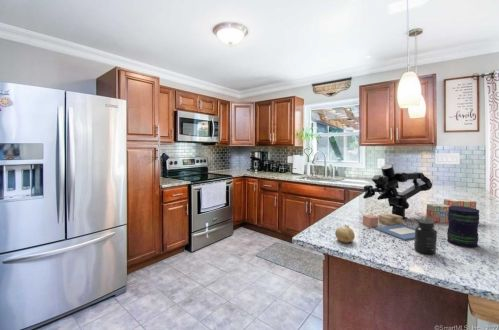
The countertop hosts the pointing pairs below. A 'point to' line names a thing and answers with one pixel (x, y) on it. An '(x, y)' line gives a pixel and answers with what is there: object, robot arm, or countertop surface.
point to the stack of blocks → (445, 209)
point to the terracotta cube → (370, 220)
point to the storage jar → (463, 226)
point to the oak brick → (390, 219)
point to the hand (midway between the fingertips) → (370, 198)
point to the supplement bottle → (425, 238)
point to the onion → (345, 234)
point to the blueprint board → (399, 231)
